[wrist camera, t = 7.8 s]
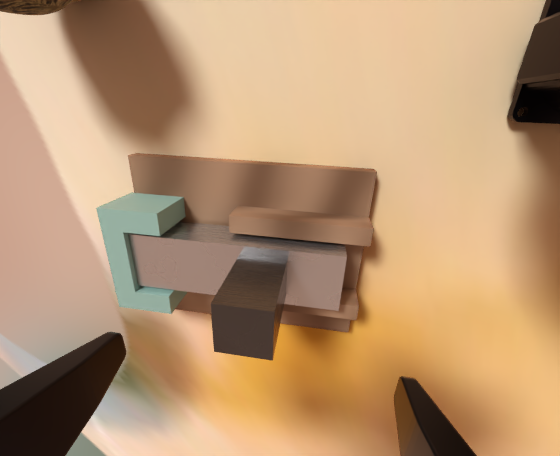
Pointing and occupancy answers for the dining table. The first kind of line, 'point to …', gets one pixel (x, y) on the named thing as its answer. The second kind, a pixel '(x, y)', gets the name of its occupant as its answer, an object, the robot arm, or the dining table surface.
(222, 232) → the grey t-shaped block
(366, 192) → the slide base
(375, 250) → the dining table surface
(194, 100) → the dining table surface
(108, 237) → the socket block
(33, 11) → the cup
